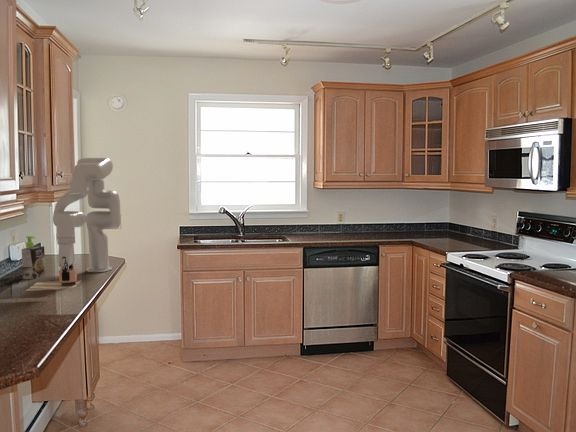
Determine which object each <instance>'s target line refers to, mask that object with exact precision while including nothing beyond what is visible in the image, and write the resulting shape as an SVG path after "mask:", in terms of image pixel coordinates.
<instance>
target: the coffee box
mask: <svg viewBox="0 0 576 432" xmlns="http://www.w3.org/2000/svg"><path fill="white" fill-rule="evenodd" d="M45 253H46V252H45V246H44V245H43V246H39V245H38V246H37V245H36V246H35V245H34V246H33V247H28V248H26V247H25V248H22V249H21V268H22V279H23V280H24V279H25V280H36V279H38V278H39V279H40V278H42V277H46V276H47V275H46V274H47V273H46V258H45Z"/></svg>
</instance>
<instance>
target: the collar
mask: <svg viewBox="0 0 576 432" xmlns="http://www.w3.org/2000/svg"><path fill="white" fill-rule="evenodd" d="M70 269H71V271H68V272H69V275H70V280H69V281H62V269H60V270H58V279H59V280H58V281H59V282H62V283H69V282H74V281H78V273H77V272H78V271H77V268H74V269H73V268H70Z"/></svg>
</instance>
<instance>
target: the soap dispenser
mask: <svg viewBox="0 0 576 432" xmlns="http://www.w3.org/2000/svg"><path fill="white" fill-rule="evenodd" d="M25 237H26V239H27V242H26V243H25V248H28V247H33V246H35V245H34V242H33V241H32V239H36V236H34V235H28V236H27V235H26V236H25Z"/></svg>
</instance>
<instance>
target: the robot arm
mask: <svg viewBox="0 0 576 432" xmlns="http://www.w3.org/2000/svg"><path fill="white" fill-rule="evenodd" d="M113 166H114V165H113V162H112V160H111V159H110V158H109V157H82V158H79V159H78V160H77V163H76V165H75V166H74V167H73V171H72V174H71V180H70V183H69V188H68V190H67V192H65V193H64V194H63V195H62V196H61V197H60V198H59V199H58V200H57V201H56V203H55V205H54V211H53V213H52V222H53V223H52V224H53V226H55V227H56V241H57V245H58V250H57V251H58V253H57V254H58V256H57V257H58V260H57V262H58V264H57V265H58V267H60V268H61V269H60V270H62V281H69V280H70V275H69V272H68V271H69V269H70V268H73V269H75V268H74V267H75V266H74V264H75V246H74V244H76V231H75V228H81V227H83V226H84V225H85V224H86V228H87V236H88V238H87V239H88V254H89V255H88V259H89V267H87V268H86V271H87V273H88V272H89V273H105V272H109V271H112V269H113V267H112V266H111V265H110V263H109V262H110V261H109V242H108V241H109V239H108V235H107V233H106V231H104V230H117V229H119V228H120V227H121V226H120V225H121V221H122V220H121V218H122V217H121V199H120V195H119V193H118V192H117V191H116V190H109V189H108V190H106V189H105V181H104V179H106V178H107V177H108V176H109V175H110V174H111V173H112V171H113ZM86 197H87V204H88V206H89V207H90V208H91V209H105V210H93V211H90V212H88V213H87V214H85V213H84V212H82V211H77V210H75V211H74V210H72V211H71V210H66V208H67V207H68V206H69V205H71V204H72V203H75V202H77V201H79V200H81V199H84V198H86ZM106 209H107V210H106ZM65 210H66V211H65Z"/></svg>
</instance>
